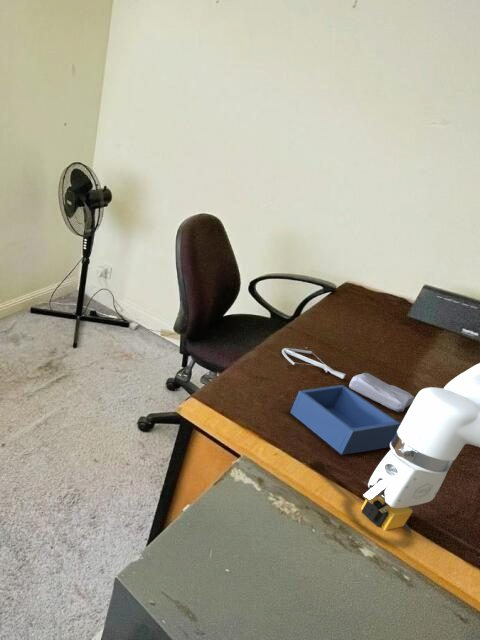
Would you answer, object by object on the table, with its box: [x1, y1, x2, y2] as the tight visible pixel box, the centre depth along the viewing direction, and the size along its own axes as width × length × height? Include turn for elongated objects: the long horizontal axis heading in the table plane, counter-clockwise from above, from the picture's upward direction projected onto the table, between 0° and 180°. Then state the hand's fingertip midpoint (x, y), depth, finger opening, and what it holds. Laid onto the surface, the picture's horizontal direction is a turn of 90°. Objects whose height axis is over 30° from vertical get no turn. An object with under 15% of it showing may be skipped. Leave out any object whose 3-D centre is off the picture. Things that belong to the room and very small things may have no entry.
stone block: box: [348, 372, 415, 413], centre depth 114 cm, size 12×5×10 cm
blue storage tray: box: [289, 384, 401, 455], centre depth 102 cm, size 14×14×8 cm
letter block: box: [360, 497, 413, 531], centre depth 80 cm, size 4×4×4 cm
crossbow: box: [281, 347, 347, 380], centre depth 127 cm, size 16×13×2 cm
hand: (381, 516), depth 81 cm, fingers closed on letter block, 4 cm apart
